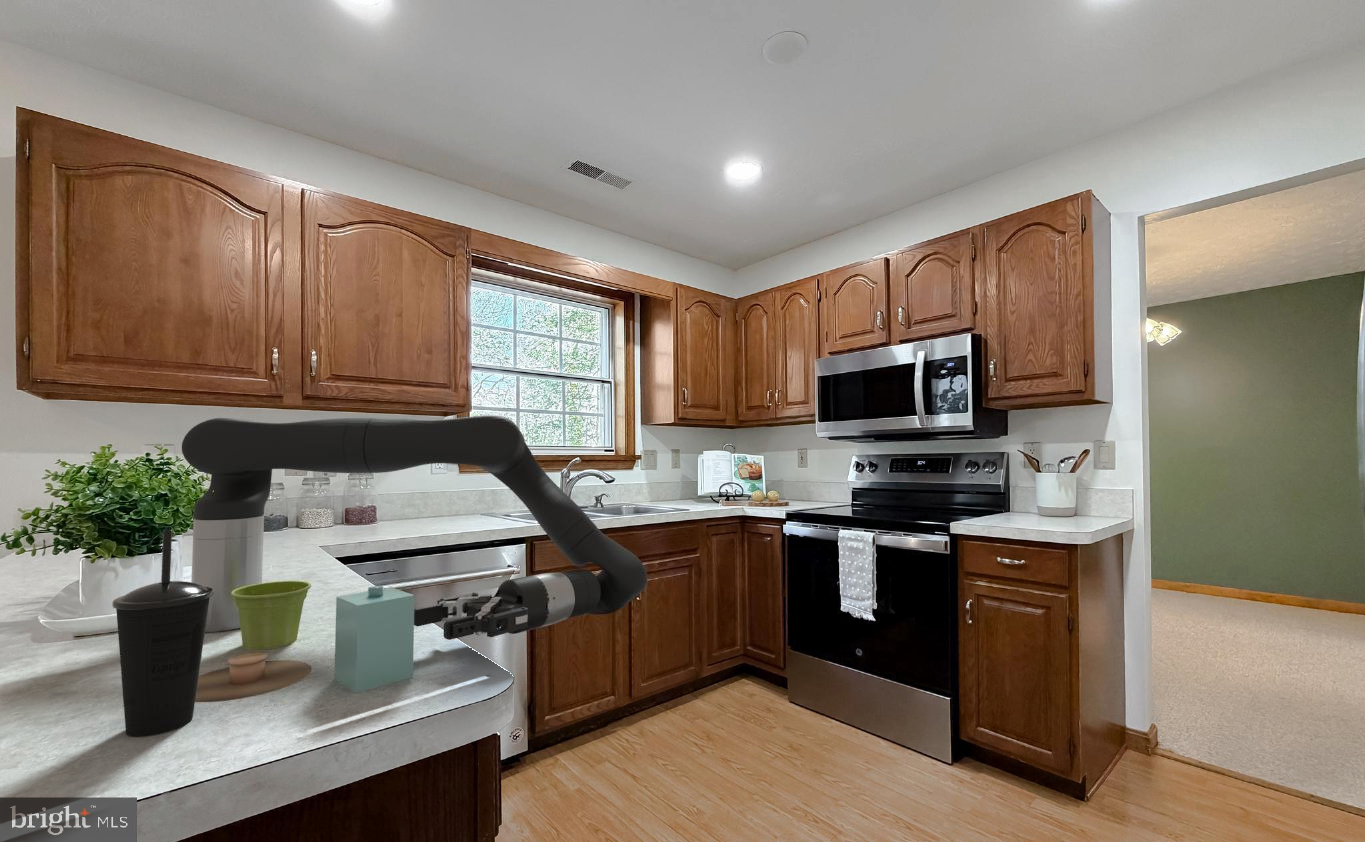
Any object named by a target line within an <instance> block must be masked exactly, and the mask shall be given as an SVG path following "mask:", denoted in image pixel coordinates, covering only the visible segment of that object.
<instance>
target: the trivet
mask: <svg viewBox="0 0 1365 842" xmlns="http://www.w3.org/2000/svg"><path fill="white" fill-rule="evenodd" d="M311 673H312V666H311V665H310V664H309V663H307V662H305V661H300V660H293V659H292V660H290V659H278V660H277V659H274V660H265V677H264V678H262V679H260V680H258V681H255V682H251V683H247V684H230V683H229V678H230V666H228V667H224V668H223V667H222V668H221V669H217V670H213V671H209V672H207V673H204V674H201V675H199V677H198V684H197V691H196V697H195V703H215V702H226V701H234V700H239V699H240V700H241V699H245V698H252V697H256V696H259V695H264V694H268V693H270V692H271V693H272V692H275V691H278V690H280V689H284V688H286V687H289V686H292V685H294V684H296V683H298V682H300V681H301V680H303V679H305V678H306V677H308V676H309V675H310V674H311Z"/></svg>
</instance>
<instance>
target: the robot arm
mask: <svg viewBox="0 0 1365 842" xmlns="http://www.w3.org/2000/svg"><path fill="white" fill-rule="evenodd" d="M181 452H182V455H183V458H184V459H185V460H186V462H187V463H188V464H189V465H190V466H191V467H192V468H193V469H195V470H197V471H199V472H201V473H203V474H205V475H206V474H207V475H210V476H211V477H210V484H209V487H208V488H207V491H206V492H205V493H204V494H203V495H202V496H201V497H200V498H198V499H197V501H196V502H195V503H194V507H193V523H192V526H193V527H192V555H191V557H192V558H191V578H190V579H191V580H190V582H191V583H196V584H199V585H201V586H204V587H210V588H212V589H213V590H214V593H213V595H212V596H211V597H210V600H209V607H208V614H207V621H206V628H205V633H211V632H222V631H223V632H224V631H229V630H235V629H241V627H240V619H239V611H238V607H237V606H236V603H235V597H233V596H232V595H231V592H232V591H233V590H235V589H238V588H241V587H244V586H249V585H254V584H260V583H263V566H264V565H263V563H264V538H265V537H264V536H265V535H264V533H265V532H264V529H265V527H264V526H265V524H264V523H265V509H266V508H265V506H266V504H267V501H268V499H269V497H270V494H271V490H272V489H271V487H272V475H273V470H294V471H295V470H296V471H304V472H317V473H334V474H335V473H336V474H383V473H390V472H398V471H401V470H407V469H411V468H415V467H419V466H424V465H430V464H433V465H435V464H447V465H466V466H473V467H474V466H475V467H479V468H481V469H482V470H484V471H485V472H488V473H490V474H491V475H492V476H493V477H495V478H497V480H499V482H502V484H503V485H505V486H506V487H507V488H508V489H509V490H510V491H512V493H513V494H514V495H515V496H517V498H518V499H519V500H520V501H521V502H522V504H523V505H524V506H525V507H526V508H527V510H529V512H530V514H532V516H533V517H534V519H535V520H536V522H537V523H538V524H539V525H540V527H541V529H542V530H543V531H544V532H545V534H546V535H547V536H548V538H549V539H550V540H551V541H552V542H553V543H554V544H555V545H556V547H557V548H558V550H560V551H561V553H562V554H564V556H565V557H566V558H567V559H568V560H569V561H570V563H572V565H574V566H575V567H583V566H586V565H588V564H590V563H591V564H594V565H596V566H597V567H599V568H600V569H601V571H599V573H596V574H595V573H594V572H592V571H590V570H588V569H585V568H581V569H580V568H579V569H572V570H571V569H570V570H566V571H561V572H560V571H559V572H546V573H540V574H534V575H528V576H524V577H523V576H522V577H516V578H511V579H507V580H504V581H503V582H502V583H501V584H500V585H499V587H498V588H497V590H496V592H495V594H494V595H493V596H492V593H486V594H485V593H483V594H480V595H479V593H477V592H471V593H466V594H465V593H464V594H460V595H455V596H454V595H452V596H449V597H440V598H438V599H437V601H436V602H437V603H436V604H433V605H428V606H423V607H417V608H414V627H421V626H427V625H432V624H434V623H435V624H436V623H443V622H444V624H443V638H444V639H446V640H448V641H450V640H451V641H452V640H455V639H459V638H463V637H468V636H472V635H475V636H482V635H485V634H486V637H488V638H494V637H497V636H502V635H504V634H505V635H506V634H507V633H508V634H510V635H515V634H521V633H524V632H528V631H531V630H537V629H538V628H543V627H548V626H551V625H554V624H557V623H559V622H561V621H564V620H567V619H568V620H569V619H571V618H575V617H580V616H583V615H608V614H612V613H615V612H617V611H619V610H621V609H623V608H624V607H625V606H627V605H628V604H629V603H630V602H631V601H632V600H633V599H635V598H637V596H638V595H639V594H641V593H642V592H643V591H644V590H645V588H646V587H647V584H648V578H649V577H648V572H647V569H646V567H645V565H644V563H643V562H642V561H641V560H640V558H639V557H637V556H636V555H635V554H634V553H633V552H631V551H630V550H629V549H627V548H625V547H624V546H622V545H621V544H619V543H618V542H617V541H615V540H613V539H612V538H610V537H609V536H607V535H605V534H604V533H603V532H602V531H601V530H600V529H599V527H598V526H597V524H595V523H594V522H593V520H592V519H590V517H589V516H588V515H587V513H585V512H584V510H582V508H581V507H580V506H579V505H578V504H577V503H576V502H575V501H574V500H573V499H572V498H570V496H569V495H567V493H565V492H564V491H563V490H562V489H561V488H560V487H559V486H558V485H557V484H556V483H555V482H554V481H553V480H552V479H551V478H550V477H549V475H548V474H547V473H546V471H544V469H543V467H541V465H540V464H539V462H538V461H537V459H536V458H535V456H534V454H533V453H532V452H531V449H530V447H529V446H528V444H527V443H526V441H525V436H524V435H523V433H522V432H521V430H520V428H519V427H518V426H517V424H516V423H515V422H514V421H513V420H511V419H510V418H508V417H506V416H503V415H499V414H485V415H476V416H466V417H454V418H447V419H445V418H444V419H421V418H407V417H405V418H401V417H399V418H398V417H347V418H346V417H345V418H344V417H342V418H326V419H324V418H323V419H314V420H312V419H311V420H304V421H293V422H260V421H259V422H258V421H253V420H249V419H240V418H229V417H218V418H215V417H214V418H210V419H206V420H204V421H201V422H199V423H198V424H196V425H194V426H193V427H192V428H191V429H189V431H188V432H187V433H186V434H185V435H184V437H183V440H182V441H181ZM213 490H214V492H212V491H213ZM449 607H452V609H451V610H449ZM464 614H466V616H465V615H464Z"/></svg>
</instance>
